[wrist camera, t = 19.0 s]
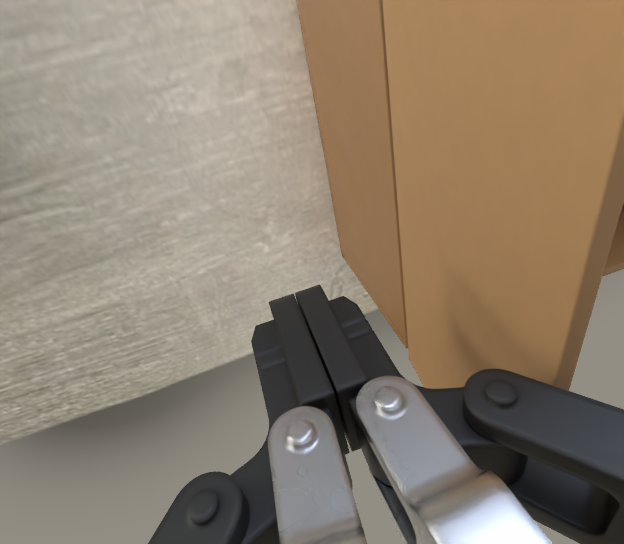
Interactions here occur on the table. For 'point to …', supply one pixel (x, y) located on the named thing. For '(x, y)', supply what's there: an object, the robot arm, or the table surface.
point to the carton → (367, 145)
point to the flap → (504, 178)
